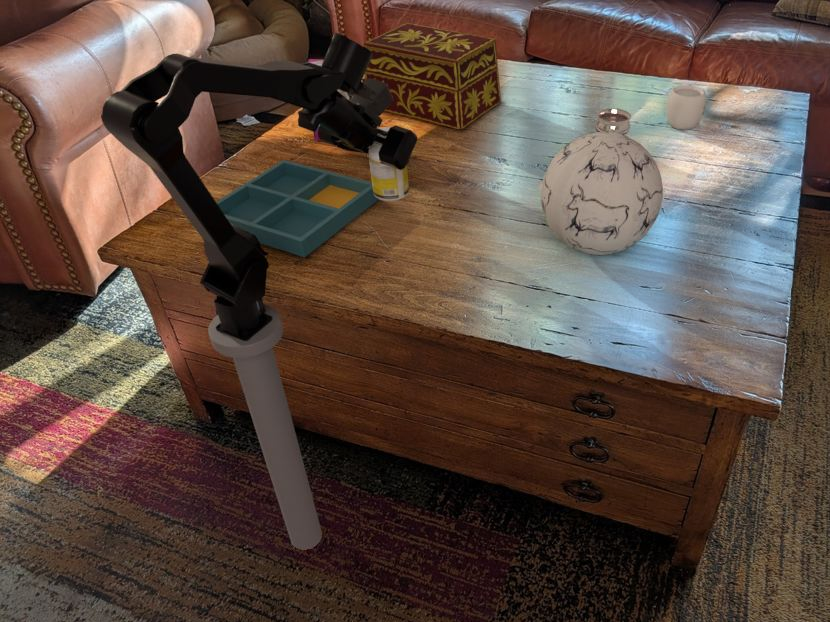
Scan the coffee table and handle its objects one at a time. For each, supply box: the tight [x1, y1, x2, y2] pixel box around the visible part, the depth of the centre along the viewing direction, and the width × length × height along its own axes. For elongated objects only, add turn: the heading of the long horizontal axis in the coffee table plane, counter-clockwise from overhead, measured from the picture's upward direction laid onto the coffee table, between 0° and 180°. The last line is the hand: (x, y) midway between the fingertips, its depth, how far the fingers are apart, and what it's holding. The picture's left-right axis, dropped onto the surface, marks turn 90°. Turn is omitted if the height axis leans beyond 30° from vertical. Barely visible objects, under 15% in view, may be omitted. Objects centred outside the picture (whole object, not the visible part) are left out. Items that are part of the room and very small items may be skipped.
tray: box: [216, 159, 380, 258], centre depth 137 cm, size 23×23×3 cm
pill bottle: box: [367, 126, 410, 202], centre depth 127 cm, size 6×6×12 cm
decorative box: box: [363, 22, 502, 131], centre depth 171 cm, size 28×19×15 cm
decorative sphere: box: [540, 131, 664, 256], centre depth 121 cm, size 20×20×20 cm
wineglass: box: [594, 107, 632, 136], centre depth 144 cm, size 7×7×12 cm
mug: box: [665, 84, 708, 130], centre depth 163 cm, size 12×8×8 cm
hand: (393, 157), depth 127 cm, fingers closed on pill bottle, 6 cm apart
